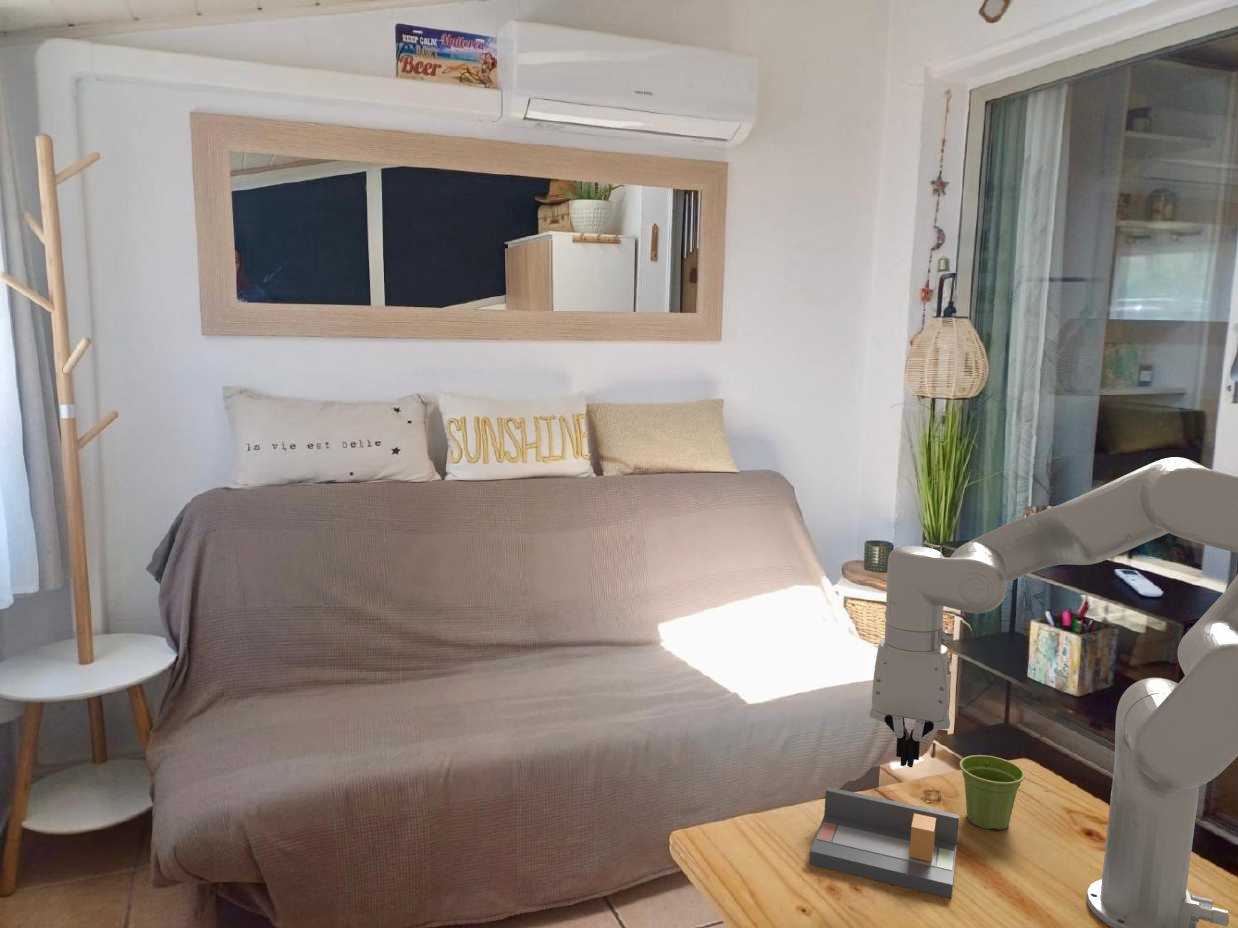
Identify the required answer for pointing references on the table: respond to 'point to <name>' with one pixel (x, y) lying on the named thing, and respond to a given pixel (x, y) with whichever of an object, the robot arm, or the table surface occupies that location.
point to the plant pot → (990, 789)
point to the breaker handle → (922, 837)
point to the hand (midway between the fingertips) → (907, 762)
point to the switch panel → (884, 842)
